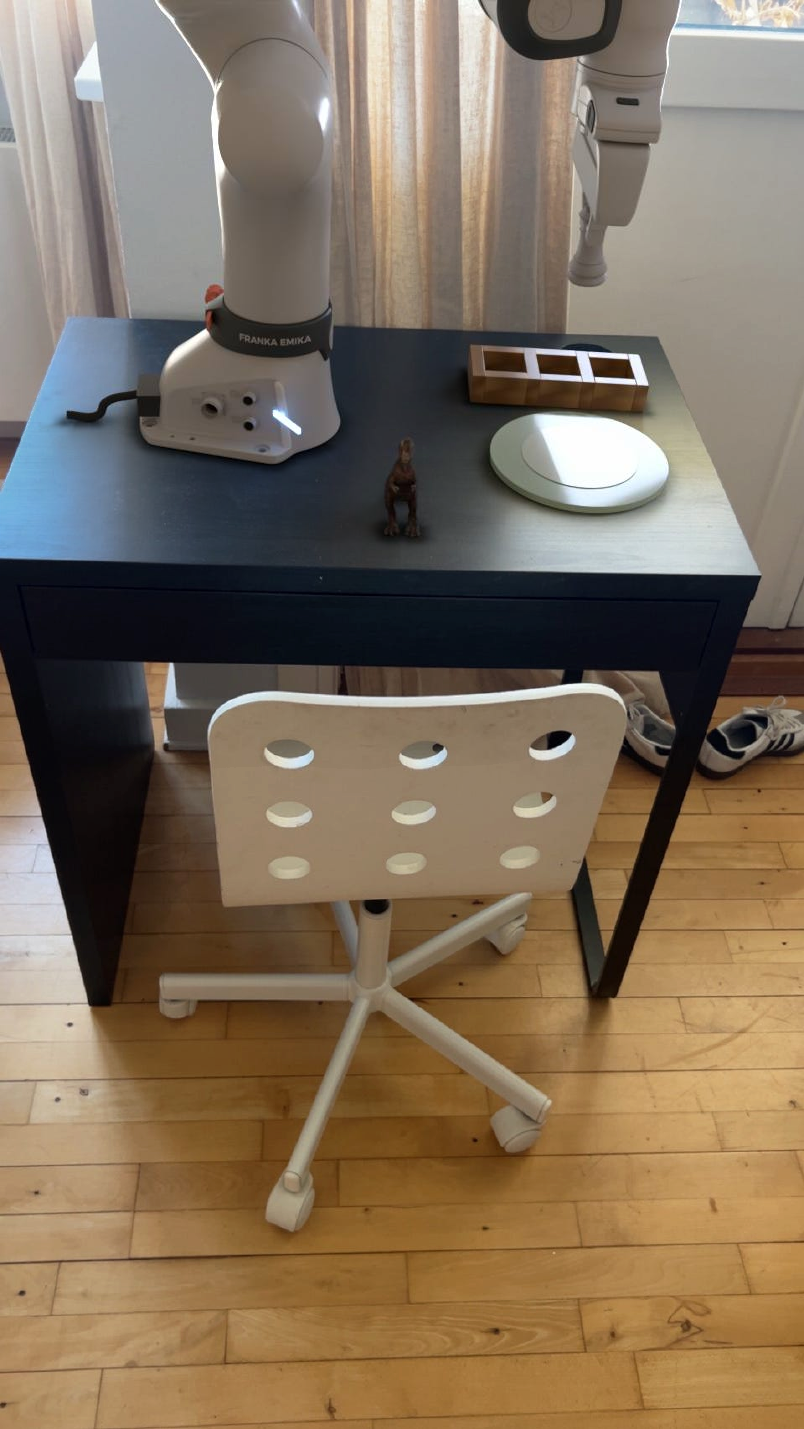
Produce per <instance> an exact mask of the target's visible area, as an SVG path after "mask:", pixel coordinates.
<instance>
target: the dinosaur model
mask: <svg viewBox="0 0 804 1429" xmlns="http://www.w3.org/2000/svg"><path fill="white" fill-rule="evenodd" d="M397 447H398V454H399V455H398V458H397V459H396V461H395V462H394V463H393V466H392V469H391V470H390V473H389V474H388V475H387V476H388V477H387V478H386V481H385V484H384V501H385V502H384V505H385V508H386V511H387V516H388V518H387V519H388V520H387V526H386V527H385V529H384V530H383V532H384V535H385V536H390V537H393V536H395V535H396V536H397V535H399V533H400V531H401V529H400V526H399V524H398V523H399V522H398V518H397V511H396V508H395V505H394V502H395V501H399V502H402V503H403V502H405V503H406V504H407V508H408V514H407V524H406V526H405V528H404V535H405V536H409V537H411V538H414V537H419V536H420V535H421V534H420V533H421V532H420V526H419V520H418V517H417V510H418V489H417V488H418V480H417V473H416V468H415V466H414V465H413V463H412V459H413V458H412V457H413V455H414V452H415V451H414V450H415V446H414V441H413V439H412V438H411V437H402V438H401V440H400V441H399V443H398V446H397Z"/></svg>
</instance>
